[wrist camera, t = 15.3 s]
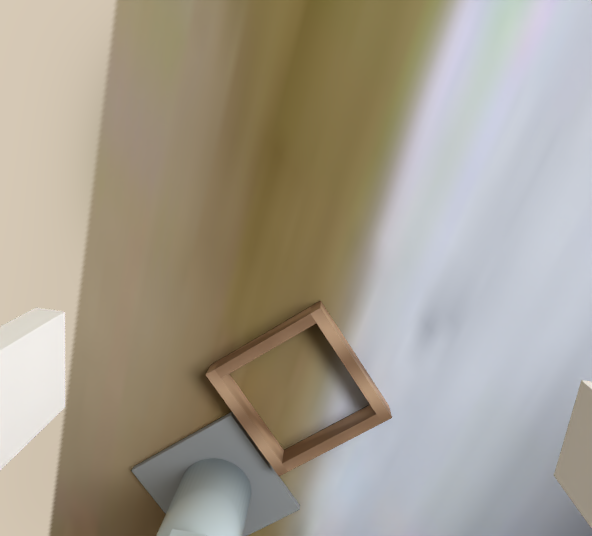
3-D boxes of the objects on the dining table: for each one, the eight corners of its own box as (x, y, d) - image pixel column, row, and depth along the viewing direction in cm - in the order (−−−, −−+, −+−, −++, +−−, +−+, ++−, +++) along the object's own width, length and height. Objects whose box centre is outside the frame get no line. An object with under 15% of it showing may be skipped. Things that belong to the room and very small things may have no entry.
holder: (388, 405, 43) (391, 417, 41) (280, 462, 45) (278, 476, 43) (320, 300, 41) (320, 307, 39) (210, 365, 43) (205, 374, 41)
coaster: (299, 505, 46) (299, 509, 46) (202, 553, 48) (200, 558, 48) (232, 411, 44) (230, 414, 44) (133, 466, 46) (131, 470, 46)
